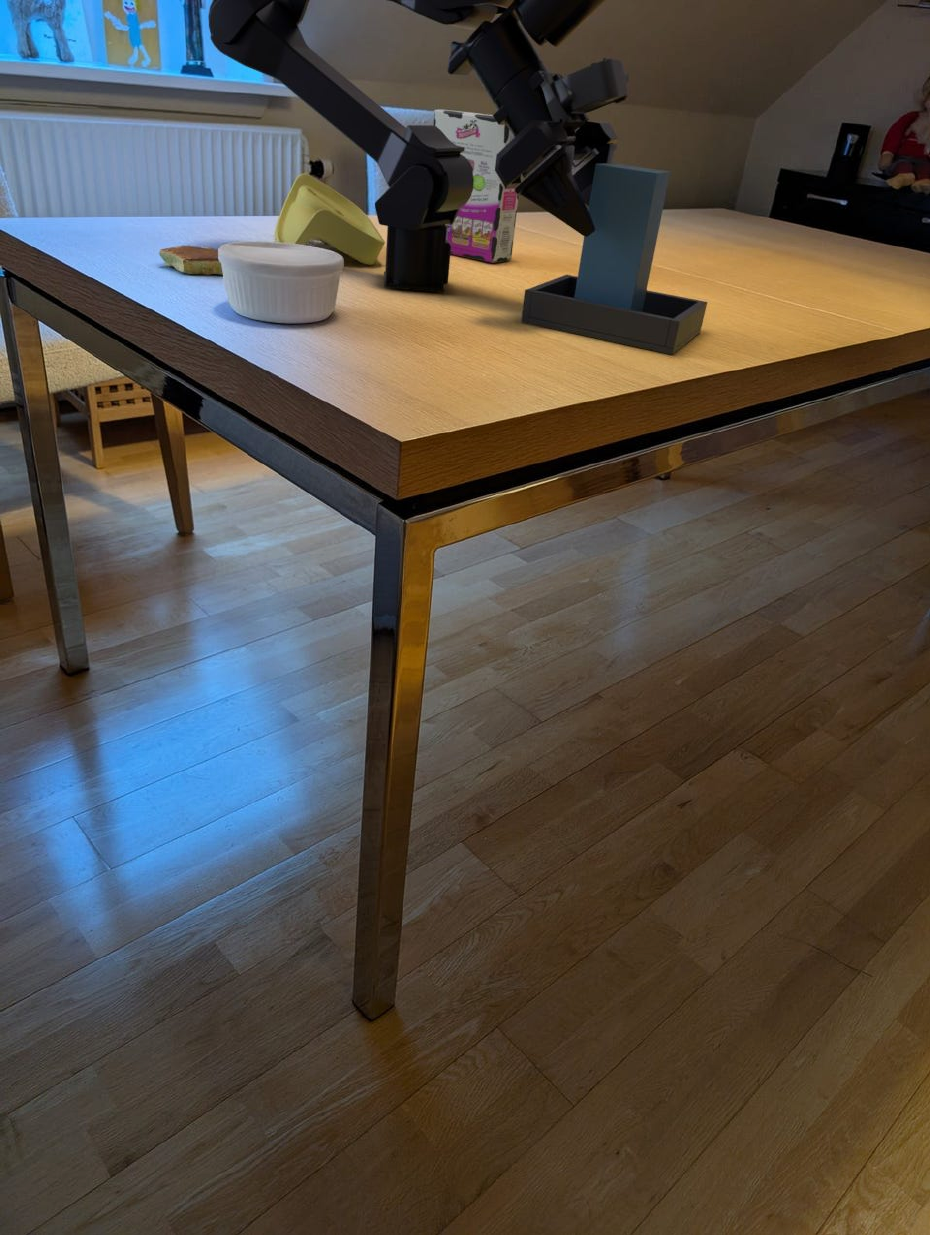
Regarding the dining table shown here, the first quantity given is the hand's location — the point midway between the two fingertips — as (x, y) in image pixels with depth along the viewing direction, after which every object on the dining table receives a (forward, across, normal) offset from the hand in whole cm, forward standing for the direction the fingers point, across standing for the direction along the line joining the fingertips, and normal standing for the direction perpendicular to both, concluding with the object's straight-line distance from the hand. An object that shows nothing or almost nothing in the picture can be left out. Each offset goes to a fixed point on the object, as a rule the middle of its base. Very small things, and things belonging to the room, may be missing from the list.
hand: (606, 229), depth 86 cm
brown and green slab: (-21, -11, +34) cm, 41 cm away
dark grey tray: (+8, 0, +4) cm, 9 cm away
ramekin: (-10, -21, +23) cm, 33 cm away
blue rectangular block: (+7, -1, +4) cm, 9 cm away
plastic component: (-20, +9, +33) cm, 40 cm away
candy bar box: (-11, +23, +24) cm, 35 cm away
